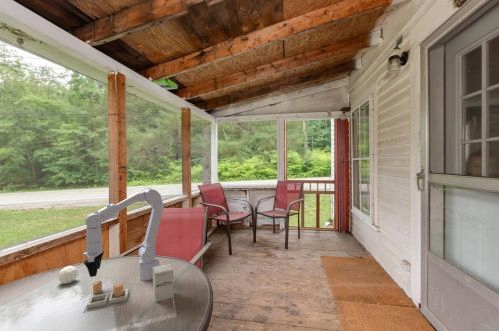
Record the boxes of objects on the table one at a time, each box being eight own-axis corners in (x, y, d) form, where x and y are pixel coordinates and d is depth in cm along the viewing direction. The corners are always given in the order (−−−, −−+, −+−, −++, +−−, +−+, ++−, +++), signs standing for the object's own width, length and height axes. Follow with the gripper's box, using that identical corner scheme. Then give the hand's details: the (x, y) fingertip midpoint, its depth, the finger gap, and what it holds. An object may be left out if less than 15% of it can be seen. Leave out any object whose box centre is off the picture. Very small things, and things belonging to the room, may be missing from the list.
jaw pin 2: (123, 294, 100) (123, 283, 100) (123, 299, 97) (122, 286, 97) (114, 296, 99) (114, 284, 99) (113, 301, 96) (113, 288, 96)
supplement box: (154, 305, 94) (154, 273, 94) (153, 296, 101) (152, 266, 101) (174, 300, 97) (173, 269, 97) (171, 291, 104) (170, 262, 104)
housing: (130, 292, 104) (130, 286, 104) (128, 305, 94) (128, 298, 94) (89, 300, 98) (89, 294, 98) (83, 315, 88) (83, 308, 88)
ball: (64, 288, 115) (59, 272, 117) (83, 278, 119) (77, 263, 121) (57, 287, 108) (52, 270, 111) (77, 276, 112) (72, 261, 115)
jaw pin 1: (102, 291, 106) (102, 280, 106) (101, 295, 102) (101, 283, 102) (93, 293, 104) (93, 281, 104) (92, 297, 101) (91, 285, 101)
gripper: (87, 238, 109) (88, 267, 109) (78, 248, 95) (79, 281, 95) (105, 235, 111) (105, 264, 111) (99, 245, 98) (100, 278, 98)
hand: (95, 272), depth 104 cm, fingers open, 7 cm apart
